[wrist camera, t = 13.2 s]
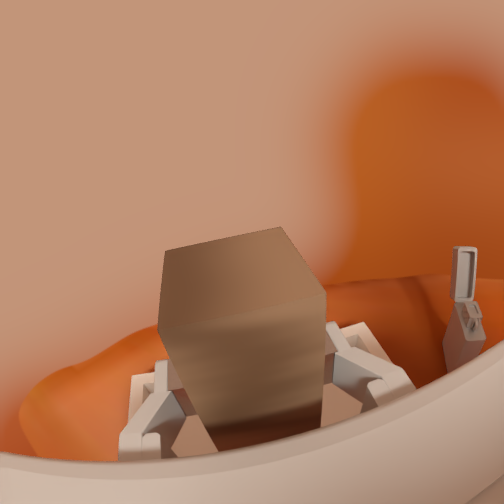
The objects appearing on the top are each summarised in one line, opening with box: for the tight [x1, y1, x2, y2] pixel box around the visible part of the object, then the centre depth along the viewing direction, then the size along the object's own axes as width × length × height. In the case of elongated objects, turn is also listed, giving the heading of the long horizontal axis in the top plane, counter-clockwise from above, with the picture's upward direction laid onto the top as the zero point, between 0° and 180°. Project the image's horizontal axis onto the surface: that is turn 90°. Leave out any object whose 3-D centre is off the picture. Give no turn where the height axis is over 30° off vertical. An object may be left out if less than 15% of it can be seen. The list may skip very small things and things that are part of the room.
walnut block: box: [157, 227, 326, 452], centre depth 11 cm, size 4×4×10 cm
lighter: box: [442, 246, 486, 373], centre depth 19 cm, size 7×2×8 cm, turn 164°
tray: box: [128, 322, 393, 457], centre depth 15 cm, size 18×16×2 cm
